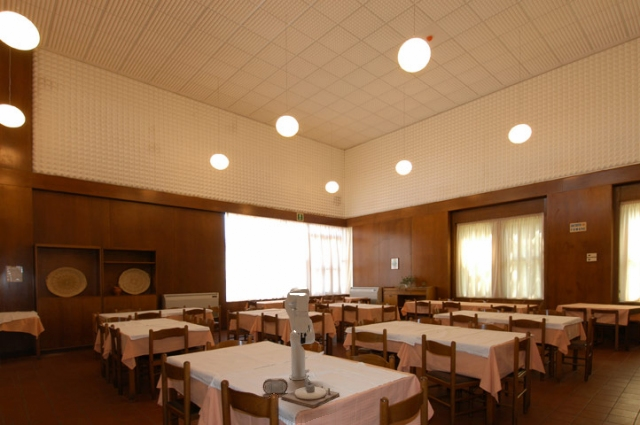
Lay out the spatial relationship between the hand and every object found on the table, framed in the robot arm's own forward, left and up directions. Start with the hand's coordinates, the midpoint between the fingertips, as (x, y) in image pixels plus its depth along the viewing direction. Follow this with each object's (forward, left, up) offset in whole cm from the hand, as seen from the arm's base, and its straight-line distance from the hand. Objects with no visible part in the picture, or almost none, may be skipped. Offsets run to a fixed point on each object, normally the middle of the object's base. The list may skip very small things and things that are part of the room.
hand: (303, 343), depth 241 cm
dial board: (+10, +14, -27) cm, 32 cm away
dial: (+10, +14, -25) cm, 31 cm away
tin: (+17, -8, -27) cm, 33 cm away
